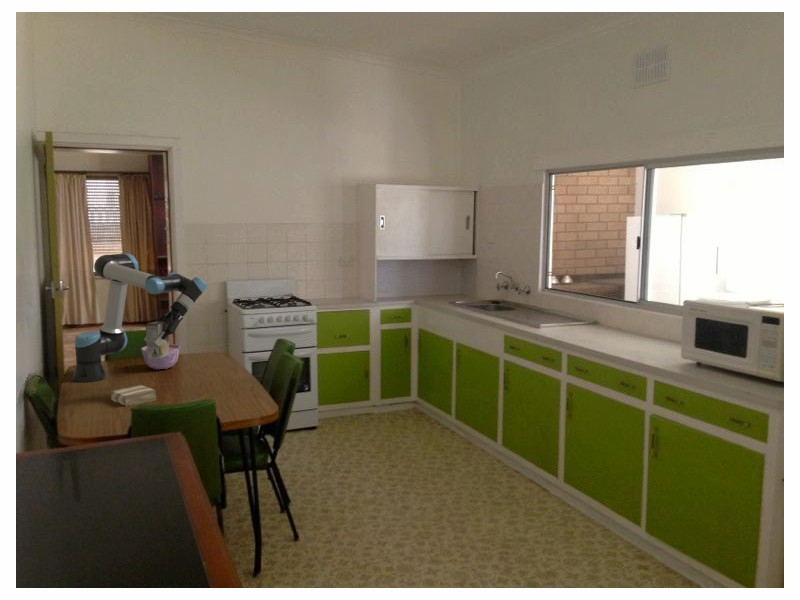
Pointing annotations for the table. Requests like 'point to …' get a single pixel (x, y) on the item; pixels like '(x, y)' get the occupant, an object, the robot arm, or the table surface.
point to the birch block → (133, 395)
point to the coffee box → (152, 335)
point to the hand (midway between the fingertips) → (151, 342)
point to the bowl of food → (164, 361)
